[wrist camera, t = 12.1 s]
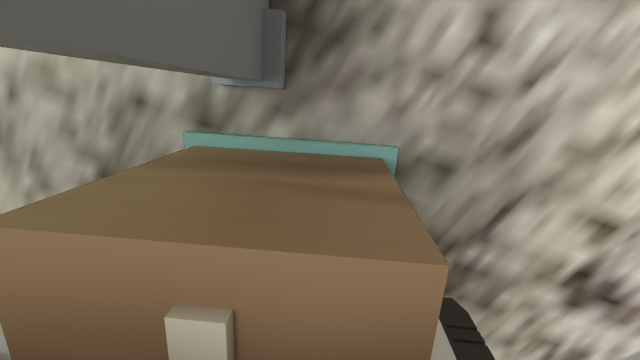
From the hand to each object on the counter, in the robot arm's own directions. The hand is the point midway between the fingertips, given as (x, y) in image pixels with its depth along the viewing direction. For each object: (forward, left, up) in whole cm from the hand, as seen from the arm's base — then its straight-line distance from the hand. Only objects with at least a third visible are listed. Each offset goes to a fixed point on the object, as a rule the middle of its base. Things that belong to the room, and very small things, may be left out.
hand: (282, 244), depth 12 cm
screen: (-1, +11, -1) cm, 11 cm away
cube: (0, 0, 0) cm, 0 cm away
